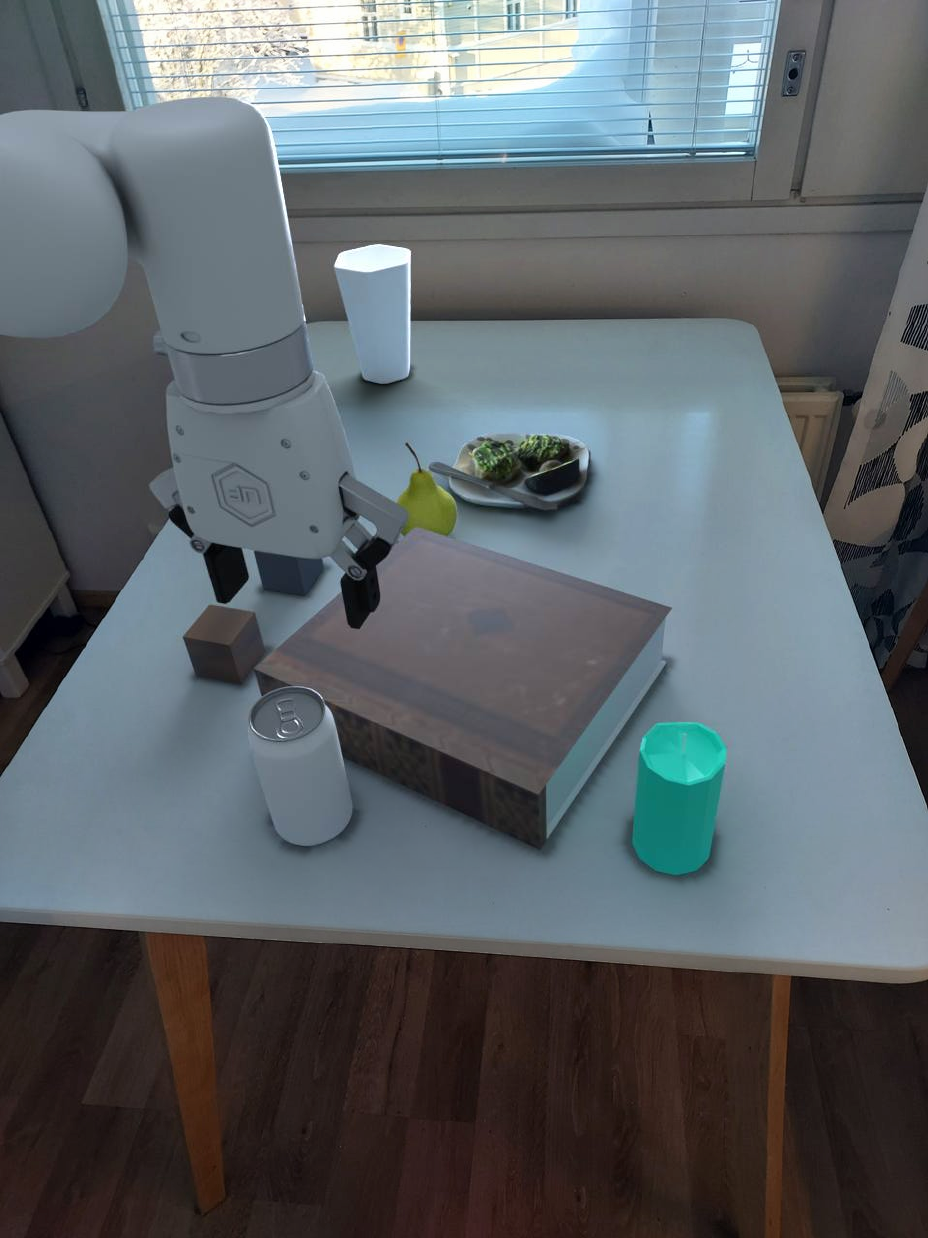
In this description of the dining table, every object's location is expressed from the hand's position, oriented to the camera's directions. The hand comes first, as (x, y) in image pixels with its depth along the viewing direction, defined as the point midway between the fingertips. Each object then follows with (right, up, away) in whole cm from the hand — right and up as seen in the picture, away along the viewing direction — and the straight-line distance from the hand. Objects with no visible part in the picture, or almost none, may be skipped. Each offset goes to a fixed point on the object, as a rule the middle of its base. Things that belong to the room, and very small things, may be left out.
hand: (297, 603), depth 62 cm
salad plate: (+18, +16, +52) cm, 57 cm away
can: (-1, -17, +14) cm, 22 cm away
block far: (-7, +3, +39) cm, 40 cm away
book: (+12, -8, +24) cm, 28 cm away
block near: (-12, -5, +29) cm, 32 cm away
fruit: (+7, +8, +43) cm, 44 cm away
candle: (+27, -18, +10) cm, 34 cm away
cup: (-1, +36, +78) cm, 86 cm away
